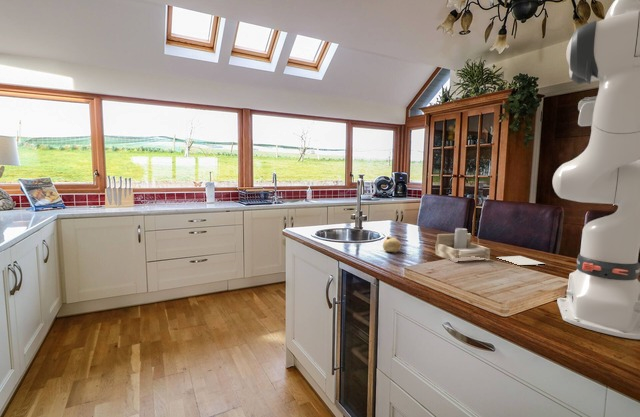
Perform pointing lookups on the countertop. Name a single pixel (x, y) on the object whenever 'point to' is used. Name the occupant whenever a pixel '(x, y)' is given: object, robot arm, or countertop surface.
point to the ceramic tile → (520, 260)
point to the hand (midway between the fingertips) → (616, 138)
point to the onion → (391, 245)
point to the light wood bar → (471, 252)
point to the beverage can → (460, 238)
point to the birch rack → (446, 246)
